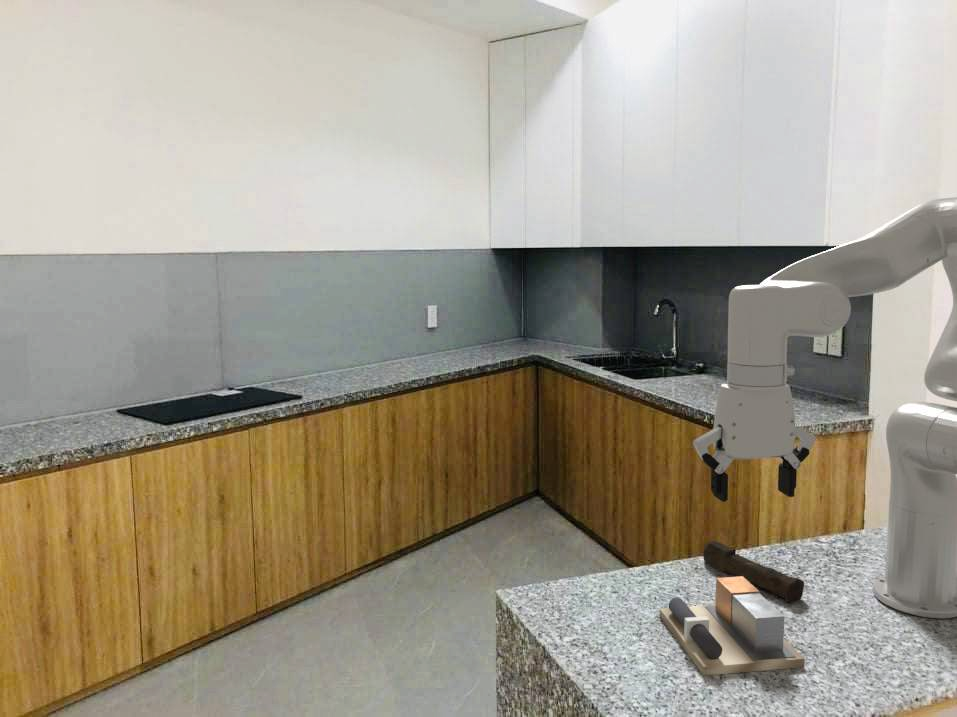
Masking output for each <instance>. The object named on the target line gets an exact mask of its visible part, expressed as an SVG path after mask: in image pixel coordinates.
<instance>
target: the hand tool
mask: <svg viewBox="0 0 957 717" xmlns="http://www.w3.org/2000/svg"><path fill="white" fill-rule="evenodd" d="M736 552H737V550H736V549H735V548H733V547H731V546H728V545H726V544H723V543H721V542H718V541H715V540H711V541H709V542H707V543H706V545H705V547H704V549H703V560H704V562H705V563H706V564H708V565H709V566H710V567H712V568H714V569H715V570H717V571H718V572H720V573H722V574H724V573H725V574H732V575H734V576H735V577H739V576H743V577H744V578H745V579H746V580H748V581H749V582H750V583H751V584H753V585H756V586H758V587H760V588H762V589H765V590H767V591H768V592H771V593H773V594H775V595H776V596H779V597H782V598H784V599H785V601H786V603H787V604H789V605H791V604H794V603H797V602H798V601H800V600H801V599H802V597H803V594H804V589H805V581H804V580H802V579H801V578H799V577H791V576H789V575H786V574H784V573H782V571H779V570H776V569H775V568H772V567H768V566H764V565H763V564H760V563H758V562H755V561H753V560H750V559H748V558H746V557H744V556H741V555H739V554H737V553H736Z"/></svg>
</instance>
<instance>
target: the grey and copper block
mask: <svg viewBox="0 0 957 717" xmlns="http://www.w3.org/2000/svg"><path fill="white" fill-rule="evenodd" d="M714 605H715V611H716V612H717V613H718V614H719V615H720V616H721V617H722V618H723V620H724V621H725V622H726V623H727V624H728V625H729V626H730V627H731V628H732V629H733V630H734V631H735V632H736V633H737V634H738V635H739V636H740V637H741V639H742V640H743V641H744V642H745V643H746V644H747V645H748V646H749V647H750V648H751V650H752V651H753V652H754V653H764V652H777V651H783V639H785V638H784V636H785V615H784V614H783V613H782V612H780V610H779V609H778V608H776V607H775V606H774V605H773V604H772V603H770V602H769V600H767V599H766V598H765V597H764V595H762V593H760V590H758V588H757V587H755V586H754V584H753V583H751V582H750V581H748V580H746V579H745V578H744V577H743V576H739V577H738V576H727V577H716V578H715V604H714Z"/></svg>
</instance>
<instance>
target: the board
mask: <svg viewBox="0 0 957 717" xmlns="http://www.w3.org/2000/svg"><path fill="white" fill-rule="evenodd" d="M688 607H689V608H690V610H691V611H692V612H693V613H694V614H695V616H696V617H703V616H707V618H708V619H709V632H710V633H711V635H712V636H713V637H714V638H715V639H716V640H717V642H718V643H719V644H720V645H721V647H722V654H721V656H720V657H719V658H717V659H714V660H712V659H709V658H707V657H706V655H705V654H704V653H703V651H702V650H701V649H700V648H699V646H698V645H697V644H696V642H695V641H694V640H691V641H687V640H686V639H685V638H684V627H683V626H682V625H681V623H680V622H679V621H678V619H677V618H676V617H675V616H674V614H673V613H672V612H671V611H670V609H669V607H665V608H659V617H660V619H661V620H662V621H663V623H664V624H665V626H666V627H667V628H668V629H669V631H670V632H671V634H672V635H673V636H674V638H675V639H676V640H677V641H678V643H679V644H680V645H681V647H682V648H683V649H684V651H685V652H686V654H687V656H689V658H690V659H691V661H692V662H693V663H694V664H695V666H696V668H697V669H698V670H699V671H700V673H701V674H702V675H703V676H713V675H714V676H715V675H716V676H717V675H725V674H727V675H728V674H737V673H738V674H739V673H747V672H748V673H750V672H751V673H752V672H761V671H762V672H763V671H775V670H783V669H797V668H805V665H806V664H805V662H806V659H805V657H804V656H803V655H802V654H801V653H799V651H798V650H796V649H795V648H794V647H793V645H791V643H789V642H788V641H787V640H786V639H785V638H784V639H783V651H777V652H764V653H754V652H753V651H752V650H751V648H750V647H749V646H748V645H747V644H746V643H745V642H744V641H743V640H742V639H741V637H740V636H739V635H738V634H737V633H736V632H735V631H734V630H733V629H732V628H731V627H730V626H729V625H728V624H727V623H726V622H725V621H724V620H723V618H722V617H721V616H720V615H719V614H718V613H717V612H716V611H715V604H707V605H706V604H705V605H693V606H692V605H691V606H688Z"/></svg>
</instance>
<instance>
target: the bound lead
mask: <svg viewBox="0 0 957 717" xmlns="http://www.w3.org/2000/svg"><path fill="white" fill-rule="evenodd" d="M668 608H669V609H670V611H671V612H672V613H673V614H674V616H675V617H676V618H677V619H678V621H679V622H680V623H681V625H682V626H683V627H684V638H685V639H686V640H687V641H691V640H694V641H695V642H696V644H697V645H698V646H699V648H700V649H701V650H702V651H703V653H704V654H705V655H706V657H707V658H709V659H712V660H714V659H717V658H719V657H720V656H721V654H722V647H721V645H720V644H719V643H718V642H717V640H716V639H715V638H714V637H713V636H712V635H711V633H710V632H709V619H708V618H707V616H703V617H696V616H695V614H694V613H693V612H692V611H691V610H690V608H689V606H688V605H687V603H686V602H685V601H684V600H683V599H682V598H681V597H679V596H678V597H673V598H671V599H670V600H669V602H668Z"/></svg>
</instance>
